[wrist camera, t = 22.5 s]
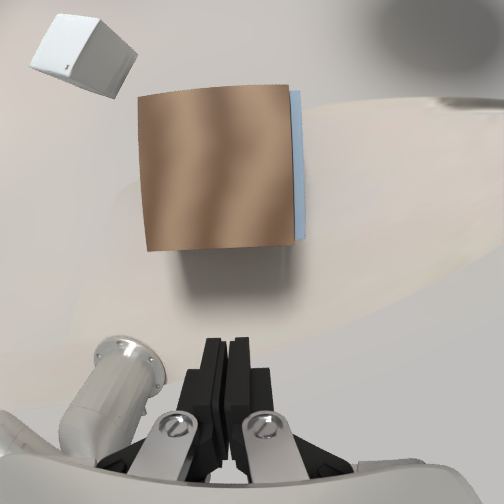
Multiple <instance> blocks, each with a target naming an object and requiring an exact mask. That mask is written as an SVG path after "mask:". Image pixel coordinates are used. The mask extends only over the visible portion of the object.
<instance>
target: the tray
mask: <svg viewBox="0 0 504 504" xmlns="http://www.w3.org/2000/svg"><path fill="white" fill-rule="evenodd" d="M289 102H290V120H291V142H292V168H293V203H294V239H305V192H304V157H303V133H302V114H301V97H300V91H289Z"/></svg>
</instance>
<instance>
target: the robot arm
mask: <svg viewBox="0 0 504 504" xmlns="http://www.w3.org/2000/svg"><path fill="white" fill-rule="evenodd" d="M94 364H95V368H94V370H93V371H92V373H91V374H90V376H89V377H88V379H87V380H86V382H85V383H84V385H83V386H82V388H81V389H80V391H79V392H78V394H77V395H76V397H75V398H74V400H73V401H72V403H71V404H70V406H69V408H68V409H67V410H66V412H65V413H64V415H63V417H62V419H61V421H60V424H59V442H60V448H61V451H60V450H59V449H56V448H55V447H54V446H52V445H51V444H50V443H49V442H47V441H46V440H44V439H43V438H42V437H40V436H39V435H38V434H37V433H35V432H34V431H33V430H31V429H30V428H29V427H28V426H26V425H25V424H24V423H23V422H22V421H20V420H19V419H18V418H16V417H15V416H14V415H12V414H11V413H9V412H7V411H5V410H0V504H482V502H481V500H480V499H479V497H478V495H477V494H476V492H475V491H474V489H473V488H472V487H471V485H470V484H469V483H468V482H467V480H466V479H465V478H464V477H463V476H462V475H461V474H460V473H459V472H458V471H456V470H455V469H453V468H450V467H448V466H444V465H436V464H426V463H425V462H423V461H422V460H419V459H413V458H409V459H399V460H383V461H359V462H358V464H349V463H348V462H347V461H345V460H343V459H341V458H339V457H337V456H335V455H333V454H331V453H329V452H327V451H324V450H323V449H320V448H319V447H316V446H315V445H313V444H311V443H309V442H307V441H305V440H303V439H301V438H299V437H298V436H296V435H294V434H292V432H291V429H290V427H289V424H288V422H287V420H286V419H285V417H283V416H282V415H281V414H279V413H277V412H274V407H273V398H272V388H271V378H270V369H269V368H251V367H250V349H249V337H236V338H235V341H230V346H229V356H228V355H227V345H226V341H221V338H207V339H206V343H205V348H204V352H203V357H202V361H201V366H200V369H188V370H187V372H186V376H185V380H184V383H183V387H182V391H181V395H180V398H179V402H178V405H177V409H176V411H170V412H167V413H165V414H163V415H161V416H160V417H159V418H158V419H157V420H156V422H155V423H154V425H153V427H152V429H151V431H150V432H149V434H148V436H147V437H146V438H144V439H142V440H140V441H138V442H136V443H134V444H132V445H130V444H131V442H132V439H133V436H134V433H135V431H136V428H137V426H138V423H139V420H140V418H141V416H145V415H146V414H147V413H146V410H145V405H146V402H147V399H148V398H151V397H153V396H155V395H157V394H158V393H159V392H160V391H161V389H162V387H163V385H164V381H165V371H164V367H163V365H162V363H161V361H160V359H159V358H158V357H157V355H156V354H155V353H154V352H153V351H152V350H151V349H150V348H148V347H147V346H146V345H144V344H142V343H141V342H139V341H137V340H134V339H132V338H128V337H121V336H116V337H110V338H107V339H106V340H104V341H102V342H101V344H100V345H99V346H98V347H97V349H96V351H95V354H94ZM229 444H230V450H231V456H232V460H235V461H236V467H237V468H238V469H239V470H240V471H242V472H243V473H244V474H246V475H247V479H248V484H216V483H209V482H210V478H211V474H210V473H211V472H213V471H214V470H215V469H217V468H222V460H228V449H229Z"/></svg>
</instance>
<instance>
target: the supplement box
mask: <svg viewBox="0 0 504 504" xmlns="http://www.w3.org/2000/svg"><path fill="white" fill-rule="evenodd" d="M137 56H138V54H137V53H136V52H135V51H134V50H133V49H132V48H131V47H130V46H129V45H128V44H127V43H126V42H124V41H123V40H122V39H121V38H120V37H119V36H118V35H117V34H116V33H115V32H113V31H112V30H111V29H110V28H109V27H108V26H107V25H106V24H105V23H104V22H103V21H101V19H97V18H92V17H85V16H77V15H68V14H57V16H56V17H55V19H54V21H53V22H52V24H51V26H50V27H49V29H48V31H47V33H46V34H45V36H44V38H43V40H42V42H41V44H40V45H39V47H38V49H37V51H36V53H35V55H34V57H33V59H32V61H31V63H30V65H29V67H30V68H32V69H35V70H37V71H39V72H42V73H45V74H47V75H50V76H53V77H55V78H58V79H61V80H63V81H65V82H68V83H70V84H73V85H75V86H77V87H80V88H82V89H85V90H88V91H90V92H93V93H97V94H100V95H103V96H106V97H109V98H112V99H115V97H116V95H117V93H118V91H119V90H120V88H121V86H122V84H123V82H124V80H125V78H126V76H127V74H128V72H129V70H130V69H131V67H132V65H133V63H134V62H135V60H136V58H137Z"/></svg>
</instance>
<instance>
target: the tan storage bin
mask: <svg viewBox="0 0 504 504" xmlns="http://www.w3.org/2000/svg"><path fill="white" fill-rule="evenodd" d="M138 141H139V163H140V180H141V193H142V205H143V216H144V226H145V235H146V244H147V252H151V251H172V250H194V249H216V248H238V247H261V246H285V245H294V203H293V168H292V142H291V120H290V102H289V86H288V85H243V86H225V87H212V88H201V89H191V90H182V91H175V92H167V93H160V94H154V95H148V96H142V97H138Z"/></svg>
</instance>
